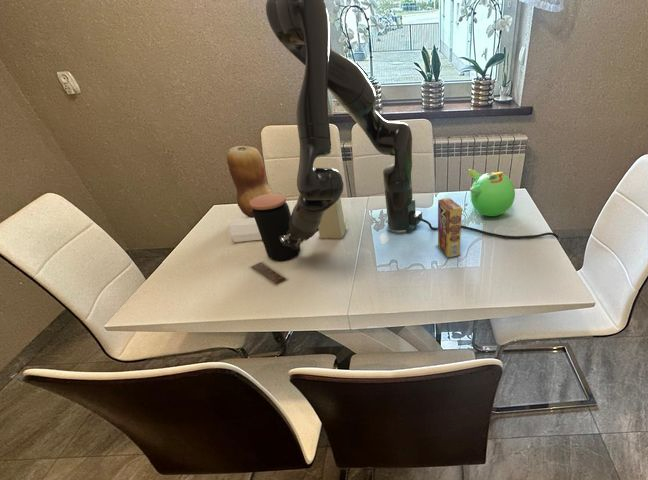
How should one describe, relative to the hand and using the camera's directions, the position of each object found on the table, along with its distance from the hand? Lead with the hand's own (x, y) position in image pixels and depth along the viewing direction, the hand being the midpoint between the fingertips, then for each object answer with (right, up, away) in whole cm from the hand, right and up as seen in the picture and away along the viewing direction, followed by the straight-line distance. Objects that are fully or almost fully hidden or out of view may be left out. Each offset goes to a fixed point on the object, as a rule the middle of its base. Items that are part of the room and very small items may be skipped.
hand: (293, 246), depth 118 cm
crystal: (-16, +8, +18) cm, 25 cm away
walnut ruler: (-7, -9, -2) cm, 12 cm away
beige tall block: (+9, +9, +17) cm, 21 cm away
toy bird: (+66, +19, +23) cm, 72 cm away
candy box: (+49, -1, +4) cm, 49 cm away
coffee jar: (-5, -1, +7) cm, 9 cm away
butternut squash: (-23, +20, +30) cm, 43 cm away
